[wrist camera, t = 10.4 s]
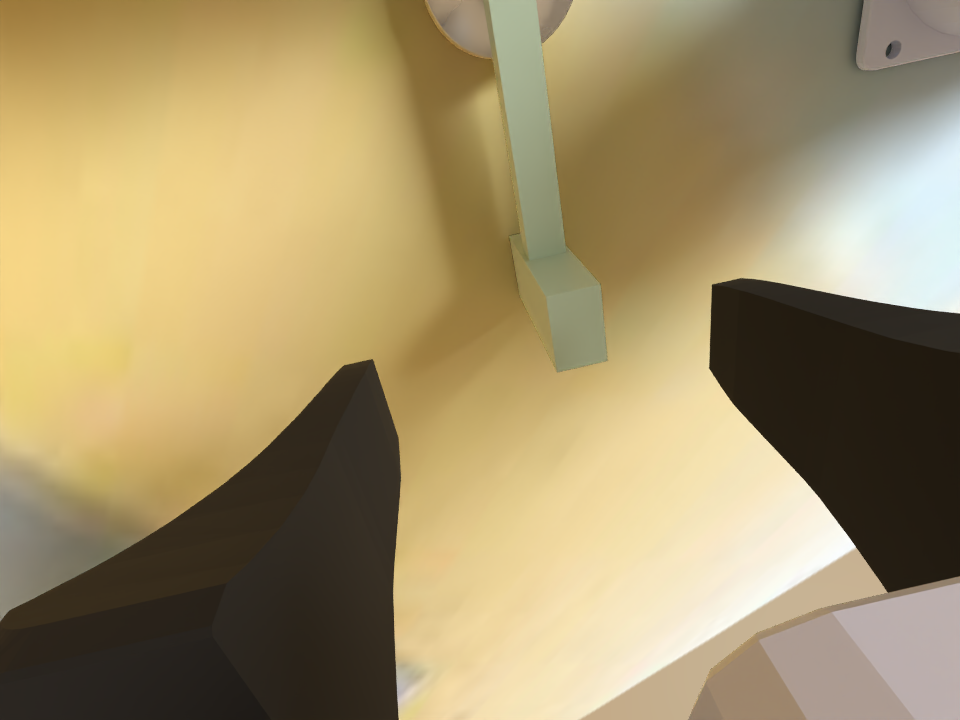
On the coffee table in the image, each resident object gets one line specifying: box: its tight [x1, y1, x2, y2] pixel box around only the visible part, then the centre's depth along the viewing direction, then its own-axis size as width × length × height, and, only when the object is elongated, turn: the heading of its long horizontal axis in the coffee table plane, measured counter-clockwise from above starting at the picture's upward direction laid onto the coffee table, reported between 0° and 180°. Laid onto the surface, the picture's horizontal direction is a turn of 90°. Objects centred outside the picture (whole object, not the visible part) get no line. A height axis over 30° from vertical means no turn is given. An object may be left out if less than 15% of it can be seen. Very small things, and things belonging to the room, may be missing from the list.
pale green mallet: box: [483, 0, 608, 372], centre depth 15 cm, size 4×13×6 cm, turn 11°
